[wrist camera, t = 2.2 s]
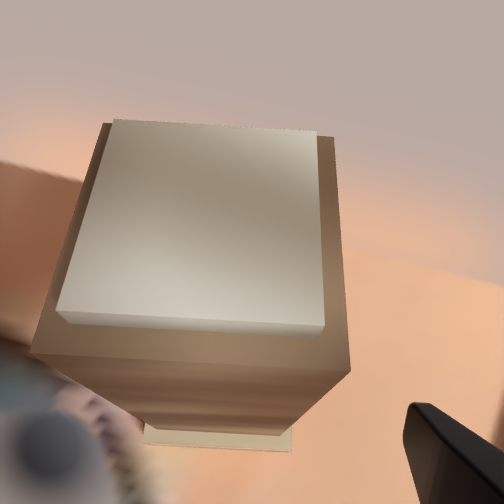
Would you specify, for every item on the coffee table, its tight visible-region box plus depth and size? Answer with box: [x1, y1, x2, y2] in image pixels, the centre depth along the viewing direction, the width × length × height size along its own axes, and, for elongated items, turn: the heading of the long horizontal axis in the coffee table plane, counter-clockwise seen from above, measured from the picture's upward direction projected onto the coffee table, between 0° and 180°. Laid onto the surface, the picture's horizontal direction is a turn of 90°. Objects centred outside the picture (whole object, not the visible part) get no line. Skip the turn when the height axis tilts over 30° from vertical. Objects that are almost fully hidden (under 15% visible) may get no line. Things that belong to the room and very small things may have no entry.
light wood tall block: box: [29, 119, 351, 452], centre depth 13 cm, size 6×6×14 cm
